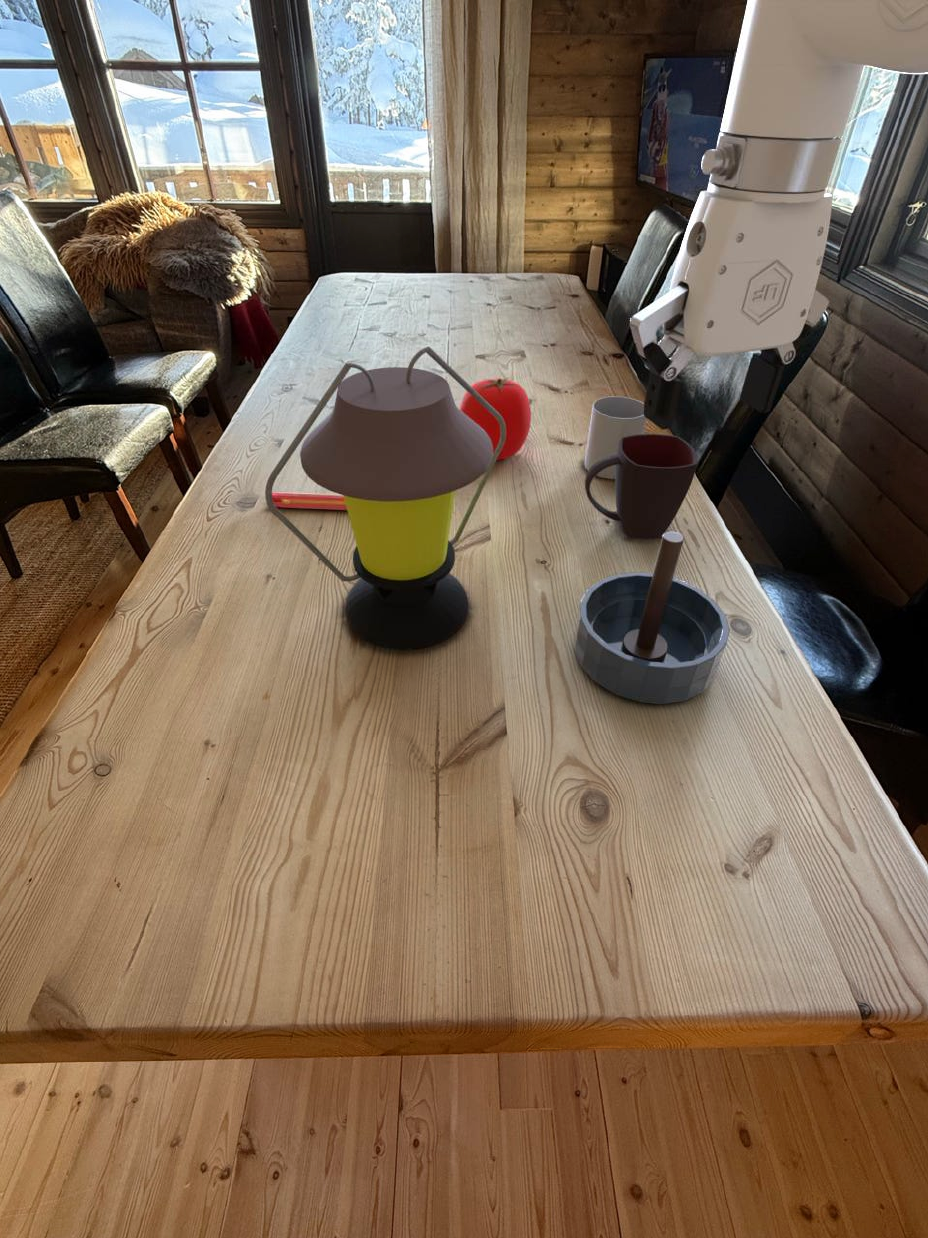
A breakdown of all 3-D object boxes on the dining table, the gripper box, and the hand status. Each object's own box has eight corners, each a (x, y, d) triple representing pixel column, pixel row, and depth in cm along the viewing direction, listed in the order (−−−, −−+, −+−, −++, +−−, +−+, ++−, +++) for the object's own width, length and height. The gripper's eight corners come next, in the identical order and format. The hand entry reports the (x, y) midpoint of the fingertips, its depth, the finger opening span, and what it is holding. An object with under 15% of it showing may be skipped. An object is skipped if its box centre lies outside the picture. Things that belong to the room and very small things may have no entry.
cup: (596, 450, 112) (605, 392, 105) (643, 462, 108) (655, 403, 102) (576, 470, 106) (584, 410, 99) (625, 484, 103) (636, 423, 96)
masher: (669, 644, 74) (702, 530, 64) (660, 671, 71) (694, 556, 61) (627, 631, 76) (653, 518, 66) (616, 658, 72) (642, 543, 62)
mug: (685, 547, 90) (707, 467, 82) (585, 549, 89) (598, 470, 81) (664, 508, 97) (683, 432, 90) (572, 511, 97) (582, 434, 89)
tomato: (541, 462, 108) (549, 386, 100) (478, 476, 104) (480, 399, 96) (506, 432, 116) (510, 359, 108) (446, 444, 113) (445, 370, 104)
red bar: (276, 502, 99) (266, 509, 95) (275, 488, 98) (265, 494, 94) (435, 509, 98) (431, 516, 94) (435, 494, 97) (432, 501, 93)
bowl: (723, 634, 77) (738, 594, 73) (701, 728, 66) (717, 686, 62) (595, 598, 81) (602, 559, 77) (555, 680, 71) (561, 639, 67)
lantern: (294, 672, 71) (233, 403, 52) (306, 567, 86) (262, 326, 66) (520, 655, 73) (544, 392, 54) (494, 556, 88) (506, 319, 68)
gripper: (695, 182, 39) (641, 449, 50) (915, 171, 44) (820, 418, 55) (628, 165, 44) (593, 410, 55) (831, 157, 49) (760, 385, 60)
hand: (706, 414), depth 55 cm, fingers open, 9 cm apart
